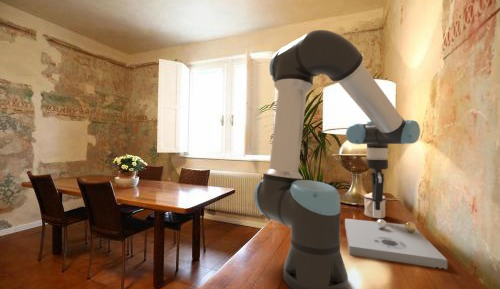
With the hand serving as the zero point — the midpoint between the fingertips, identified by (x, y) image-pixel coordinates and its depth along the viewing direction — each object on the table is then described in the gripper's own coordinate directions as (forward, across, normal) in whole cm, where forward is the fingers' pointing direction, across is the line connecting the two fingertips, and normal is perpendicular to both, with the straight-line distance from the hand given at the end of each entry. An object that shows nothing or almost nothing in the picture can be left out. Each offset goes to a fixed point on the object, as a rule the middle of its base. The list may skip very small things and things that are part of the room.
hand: (377, 217), depth 93 cm
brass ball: (0, -9, -9) cm, 13 cm away
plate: (+4, -15, 0) cm, 16 cm away
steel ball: (0, -9, 0) cm, 9 cm away
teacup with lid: (+4, +16, -1) cm, 17 cm away
